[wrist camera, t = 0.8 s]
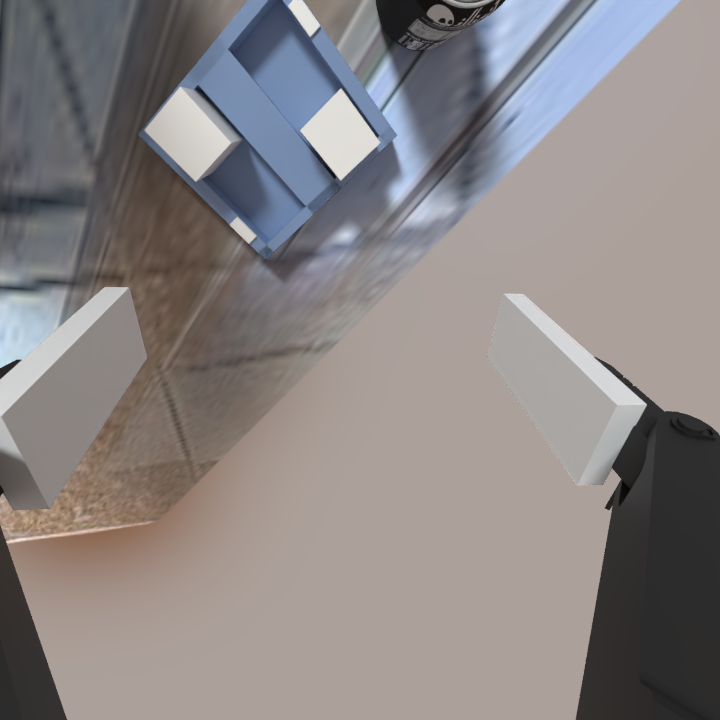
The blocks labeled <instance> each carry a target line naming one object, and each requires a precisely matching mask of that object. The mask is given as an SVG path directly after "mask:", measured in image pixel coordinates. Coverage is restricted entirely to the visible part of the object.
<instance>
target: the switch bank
mask: <svg viewBox="0 0 720 720" xmlns="http://www.w3.org/2000/svg"><path fill="white" fill-rule="evenodd" d="M179 87H184V88H189V89H193V90H197V91H201V92H202V93H203V94H204V95H205V97H206V98H207V99H208V100H209V101H210V102H211V103H212V104H213V106H214V107H215V108H216V109H217V110H218V111H219V112H220V113H221V115H222V116H223V117H224V118H225V119H226V120H227V121H228V122H229V124H230V125H231V126H232V127H233V128H234V129H235V130H236V131H237V133H238V134H239V135H240V136H241V137H242V138H243V139H244V140H243V141H242V142H241V143H240V144H239V145H238V146H237V147H236V148H235V149H234V150H233V151H232V153H231V154H230V155H229V156H228V157H227V158H226V159H225V160H224V161H223V162H222V163H221V165H220V166H219V167H218V168H217V169H216V170H215V171H214V172H213V173H212V174H210V175H208V176H206V177H204V178H202V179H200V180H198V181H196V182H195V181H194V180H193V179H192V178H191V177H190V176H189V175H188V174H187V173H186V172H185V171H184V170H183V169H182V168H181V167H180V166H179V165H178V164H177V163H176V162H175V161H174V160H173V159H172V158H171V157H170V156H169V155H168V154H167V153H166V152H165V151H164V150H163V149H162V148H161V147H160V146H159V145H158V144H157V143H156V142H155V141H154V140H153V139H152V138H151V137H150V136H149V135H148V134H147V133H146V132H145V131H144V130H145V129H146V127H147V126H148V125H149V124H150V123H151V121H152V120H153V119H154V118H155V117H156V115H157V114H158V113H159V112H160V110H161V109H162V108H163V107H164V106H165V104H166V103H167V102H168V101H169V100H170V98H171V97H172V96H173V95H174V93H175V92H176V91H177V90H178V89H179ZM340 89H342V90H343V91H344V93H345V94H346V96H347V97H348V98H349V100H350V101H351V103H352V104H353V105H354V107H355V108H356V109H357V111H358V112H359V114H360V115H361V116H362V118H363V119H364V121H365V122H366V123H367V125H368V126H369V127H370V129H371V130H372V132H373V133H374V134H375V136H376V137H377V139H378V140H379V141H380V144H379V145H378V146H376V147H375V148H374V149H373V150H372V151H371V152H370V153H369V154H368V155H367V156H366V157H365V158H364V159H363V160H362V161H361V162H360V163H359V164H358V165H357V166H355V167H354V168H353V169H352V170H351V171H350V172H349V173H348V174H347V175H346V176H345V177H344V178H343V179H342V180H341V181H340V179H339V178H338V177H337V176H336V174H335V173H334V172H333V171H332V169H331V168H330V167H329V166H328V164H327V163H326V162H325V161H324V160H323V158H322V157H321V156H320V155H319V153H318V152H317V151H316V150H315V148H314V147H313V146H312V145H311V144H310V142H309V141H308V140H307V139H306V137H305V136H304V135H303V134H302V132H301V131H300V130H301V129H302V128H303V127H304V126H305V125H306V124H307V123H308V122H309V121H310V120H311V119H312V118H313V117H314V116H315V114H316V113H317V112H318V111H319V110H320V109H321V108H322V107H323V106H324V105H325V104H326V103H327V102H328V101H329V100H330V99H331V98H332V97H333V96H334V95H335V94H336V93H337V92H338V91H339V90H340ZM138 135H139V136H140V137H141V138H142V139H143V140H144V141H145V142H146V143H147V144H148V145H149V146H150V147H151V148H152V149H153V150H154V151H155V152H156V153H157V154H158V155H159V156H160V157H161V158H162V159H163V160H164V161H165V162H166V163H167V164H168V165H169V166H170V167H171V168H172V169H173V170H174V171H175V172H176V173H177V174H178V175H179V176H180V177H182V178H183V179H184V180H185V181H186V182H187V183H188V184H189V185H190V186H191V187H192V188H193V189H194V190H195V191H196V192H197V193H198V194H199V195H200V196H201V197H202V198H203V199H204V200H205V201H206V202H207V203H208V204H209V205H210V206H211V207H212V208H213V209H214V210H215V211H216V212H217V213H218V214H219V215H220V216H221V217H222V218H223V219H224V220H225V221H226V222H227V223H228V224H229V225H230V226H231V227H232V228H233V229H234V230H235V231H236V232H237V233H238V234H239V235H240V236H241V237H242V238H243V239H244V240H245V241H246V242H247V243H248V244H250V245H251V246H252V247H253V248H254V249H255V250H256V251H257V252H258V253H259V254H260V255H261V256H262V257H263V258H264V259H265V260H266V259H267V258H268V257H269V256H270V255H271V254H272V253H273V252H274V251H275V250H276V249H277V248H278V247H279V246H280V245H282V244H283V243H284V242H285V241H286V240H287V239H288V238H289V237H290V236H291V235H292V234H293V233H294V232H295V231H296V230H297V229H298V228H300V227H301V226H302V225H303V224H304V223H305V222H306V221H307V220H308V219H309V218H310V217H311V216H312V215H313V214H314V213H315V212H316V211H318V210H319V209H320V208H321V207H322V206H323V205H324V204H325V203H326V202H327V201H328V200H329V199H330V198H331V197H332V196H333V195H334V194H336V193H337V192H338V191H339V190H340V189H341V188H342V187H343V186H344V185H345V184H346V183H347V182H348V181H349V180H350V179H351V178H352V177H354V176H355V175H356V174H357V173H358V172H359V171H360V170H361V169H362V168H363V167H364V166H365V165H366V164H367V163H368V162H369V161H370V160H372V159H373V158H374V157H375V156H376V155H377V154H378V153H379V152H380V151H381V150H382V149H383V148H384V147H385V146H386V145H387V144H388V143H390V142H391V141H392V140H393V139H394V138H395V137H396V136H397V135H396V133H395V132H394V130H393V129H392V127H391V126H390V125H389V123H388V122H387V120H386V119H385V117H384V116H383V114H382V113H381V112H380V110H379V109H378V107H377V106H376V104H375V103H374V101H373V100H372V99H371V97H370V96H369V94H368V93H367V91H366V90H365V89H364V87H363V86H362V84H361V83H360V81H359V80H358V78H357V77H356V76H355V74H354V73H353V71H352V70H351V68H350V67H349V65H348V64H347V63H346V61H345V60H344V58H343V57H342V55H341V54H340V53H339V51H338V50H337V48H336V47H335V45H334V44H333V42H332V41H331V40H330V38H329V37H328V35H327V34H326V32H325V31H324V30H323V28H322V27H321V25H320V24H319V22H318V21H317V19H316V18H315V17H314V15H313V14H312V12H311V11H310V9H309V8H308V6H307V5H306V4H305V2H304V1H303V0H248V1H247V2H246V3H245V5H244V6H243V7H242V8H241V9H240V11H239V12H238V13H237V14H236V16H235V17H234V18H233V19H232V20H231V22H230V23H229V24H228V25H227V27H226V28H225V29H224V30H223V31H222V33H221V34H220V35H219V36H218V38H217V39H216V40H215V41H214V42H213V44H212V45H211V46H210V47H209V49H208V50H207V51H206V52H205V53H204V55H203V56H202V57H201V58H200V60H199V61H198V62H197V63H196V64H195V66H194V67H193V68H192V69H191V70H190V72H189V73H188V74H187V75H186V77H185V78H184V79H183V80H182V81H181V83H180V84H179V85H178V86H177V88H176V89H175V90H174V91H173V92H172V94H171V95H170V96H169V97H168V99H167V100H166V101H165V102H164V103H163V105H162V106H161V107H160V108H159V110H158V111H157V112H156V113H155V114H154V116H153V117H152V118H151V119H150V121H149V122H148V123H147V124H146V125H145V127H144V128H143V129H142V130H141V131H140V133H139V134H138Z"/></svg>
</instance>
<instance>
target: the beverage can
mask: <svg viewBox="0 0 720 720" xmlns="http://www.w3.org/2000/svg"><path fill="white" fill-rule="evenodd" d="M504 1H505V0H376V6H377V10H378V14H379V17H380V20H381V22H382V24H383V26H384V28H385V30H386V31H387V33H388V34H389V35H390V37H391V38H392V39H393V40H394V41H395V42H397V43H398V44H399V45H401V46H403V47H405V48H407V49H410V50H414V51H425V50H430V49H433V48H435V47H437V46H439V45H441V44H443V43H444V42H446V41H447V40H449V39H451V38H452V37H454V36H456V35H457V34H459V33H461V32H462V31H464V30H465V29H467V28H469V27H470V26H472V25H474V24H475V23H477V22H479V21H480V20H482V19H483V18H485V17H487V16H488V15H490V14H491V13H493V12H494V11H495V10H496V9H497V8H498V7H499V6H501V5H502V3H503V2H504Z"/></svg>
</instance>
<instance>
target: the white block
mask: <svg viewBox="0 0 720 720" xmlns="http://www.w3.org/2000/svg"><path fill="white" fill-rule="evenodd" d="M144 131H145V132H146V133H147V134H148V135H149V136H150V137H151V138H152V139H153V140H154V141H155V142H156V143H157V144H158V145H159V146H160V147H161V148H162V149H163V150H164V151H165V152H166V153H167V154H168V155H169V156H170V157H171V158H172V159H173V160H174V161H175V162H176V163H177V164H178V165H179V166H180V167H181V168H182V169H183V170H184V171H185V172H186V173H187V174H188V175H189V176H190V177H191V178H192V179H193V180H194V181H195V182H196V181H198V180H200V179H202V178H204V177H206V176H208V175H210V174H212V173H213V172H214V171H215V170H216V169H217V168H218V167H219V166H220V165H221V163H222V162H223V161H224V160H225V159H226V158H227V157H228V156H229V155H230V154H231V153H232V151H233V150H234V149H235V148H236V147H237V146H238V145H239V144H240V143H241V142H242V141H243V140H244V139H243V138H242V137H241V136H240V135H239V134H238V133H237V131H236V130H235V129H234V128H233V127H232V126H231V125H230V124H229V122H228V121H227V120H226V119H225V118H224V117H223V116H222V115H221V113H220V112H219V111H218V110H217V109H216V108H215V107H214V106H213V104H212V103H211V102H210V101H209V100H208V99H207V98H206V97H205V95H204V94H203V93H202V92H201V91H197V90H193V89H189V88H184V87H179V89H178V90H177V91H176V92H175V93H174V95H173V96H172V97H171V98H170V100H169V101H168V102H167V103H166V104H165V106H164V107H163V108H162V109H161V110H160V112H159V113H158V114H157V115H156V117H155V118H154V119H153V120H152V121H151V123H150V124H149V125H148V126H147V127H146V129H145V130H144Z"/></svg>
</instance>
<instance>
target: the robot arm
mask: <svg viewBox="0 0 720 720" xmlns="http://www.w3.org/2000/svg"><path fill="white" fill-rule="evenodd" d="M487 358H488V359H489V361H490V362H491V363H492V365H493V366H494V368H495V369H496V371H497V372H498V374H499V375H500V376H501V378H502V379H503V381H504V382H505V383H506V385H507V386H508V388H509V389H510V391H511V392H512V393H513V395H514V396H515V398H516V399H517V401H518V402H519V404H520V405H521V406H522V408H523V409H524V410H525V412H526V414H527V415H528V416H529V418H530V419H531V421H532V422H533V424H534V425H535V426H536V428H537V429H538V431H539V432H540V434H541V435H542V436H543V438H544V439H545V441H546V442H547V444H548V445H549V447H550V448H551V449H552V451H553V452H554V454H555V455H556V457H557V458H558V459H559V461H560V462H561V464H562V465H563V467H564V468H565V469H566V471H567V472H568V474H569V475H570V476H571V478H572V479H573V481H574V482H575V484H576V485H577V486H582V485H583V486H585V485H603V484H604V482H605V480H606V479H607V477H608V475H609V473H610V471H611V469H612V468H613V470H614V471H615V472H616V473H617V474H618V476H619V477H620V478H621V481H620V482H619V484H618V486H617V488H616V490H615V491H614V493H613V495H612V496H611V498H610V500H609V501H608V503H607V505H606V507H605V508H606V509H608V510H610V508H611V507H612V506H613V507H612V513H611V519H610V525H609V530H608V537H607V542H606V548H605V554H604V559H603V565H602V571H601V578H600V583H599V588H598V594H597V600H596V606H595V612H594V618H593V623H592V629H591V635H590V641H589V646H588V652H587V658H586V664H585V670H584V675H583V681H582V687H581V693H580V699H579V705H578V710H577V716H576V720H720V436H719V434H718V433H717V432H716V431H715V430H714V429H713V428H712V427H711V426H709V425H708V424H706V423H704V422H703V421H701V420H699V419H697V418H694V417H692V416H690V415H687V414H683V413H679V412H669V411H666V412H664V411H663V410H662V409H661V408H660V407H659V406H657V405H656V404H655V403H654V402H653V401H652V400H650V399H649V398H648V397H647V396H646V395H645V394H643V393H642V392H641V391H640V390H639V389H638V388H637V387H635V386H633V385H632V383H631V382H630V381H629V380H627V379H626V378H623V375H621V374H620V373H619V372H618V371H617V370H616V369H615V368H614V367H612V366H611V365H609V364H607V363H606V362H604V361H602V360H600V359H598V358H596V357H593V356H592V355H591V354H590V353H589V352H587V351H586V350H585V349H584V348H583V347H582V346H581V345H579V344H578V343H577V342H576V341H575V340H574V339H573V338H572V337H571V336H569V335H568V334H567V333H566V332H565V331H564V330H563V329H562V328H560V327H559V326H558V325H557V324H556V323H555V322H554V321H553V320H552V319H550V318H549V317H548V316H547V315H546V314H545V313H544V312H543V311H541V310H540V309H539V308H538V307H537V306H536V305H535V304H534V303H532V302H531V301H530V300H529V299H528V298H527V297H526V296H525V295H524V294H503V298H502V302H501V305H500V309H499V313H498V317H497V321H496V324H495V328H494V332H493V336H492V340H491V343H490V347H489V351H488V355H487ZM146 359H147V355H146V351H145V347H144V343H143V339H142V335H141V332H140V328H139V324H138V320H137V316H136V312H135V308H134V304H133V300H132V296H131V292H130V288H129V287H104V288H103V289H102V290H101V291H100V292H99V293H97V294H96V295H95V296H94V297H93V298H92V299H91V300H89V301H88V302H87V303H86V304H85V305H84V306H83V307H82V308H80V309H79V310H78V311H77V312H76V313H75V314H74V315H73V316H71V317H70V318H69V319H68V320H67V321H66V322H65V323H63V324H62V325H61V326H60V327H59V328H58V329H57V330H56V331H54V332H53V333H52V334H51V335H50V336H49V337H48V338H47V339H45V340H44V341H43V342H42V343H41V344H40V345H39V346H37V347H36V348H35V349H34V350H33V351H32V352H31V353H30V354H28V355H27V356H26V357H25V358H24V359H23V360H15V361H14V362H12V363H10V364H8V365H6V366H4V367H2V368H0V496H1V494H2V493H3V494H4V495H5V497H6V499H7V500H8V502H9V504H10V505H11V507H12V509H13V510H31V509H50V507H51V506H52V504H53V503H54V501H55V500H56V498H57V496H58V495H59V493H60V492H61V490H62V489H63V487H64V486H65V484H66V483H67V481H68V479H69V478H70V476H71V475H72V473H73V472H74V470H75V469H76V467H77V466H78V464H79V462H80V461H81V459H82V458H83V456H84V455H85V453H86V452H87V450H88V449H89V447H90V445H91V444H92V442H93V441H94V439H95V438H96V436H97V435H98V433H99V432H100V430H101V428H102V427H103V425H104V424H105V422H106V421H107V419H108V418H109V416H110V415H111V413H112V411H113V410H114V408H115V407H116V405H117V404H118V402H119V401H120V399H121V398H122V396H123V394H124V393H125V391H126V390H127V388H128V387H129V385H130V384H131V382H132V381H133V379H134V377H135V376H136V374H137V373H138V371H139V370H140V368H141V367H142V365H143V364H144V362H145V360H146ZM0 720H67V718H66V716H65V713H64V710H63V707H62V704H61V701H60V698H59V695H58V692H57V689H56V686H55V684H54V681H53V678H52V675H51V672H50V669H49V666H48V663H47V660H46V657H45V654H44V651H43V649H42V646H41V643H40V640H39V637H38V634H37V631H36V628H35V625H34V622H33V619H32V616H31V614H30V610H29V608H28V605H27V602H26V599H25V596H24V593H23V590H22V587H21V584H20V581H19V578H18V575H17V573H16V570H15V567H14V564H13V561H12V558H11V555H10V552H9V549H8V546H7V543H6V540H5V538H4V535H3V532H2V529H1V526H0Z"/></svg>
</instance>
